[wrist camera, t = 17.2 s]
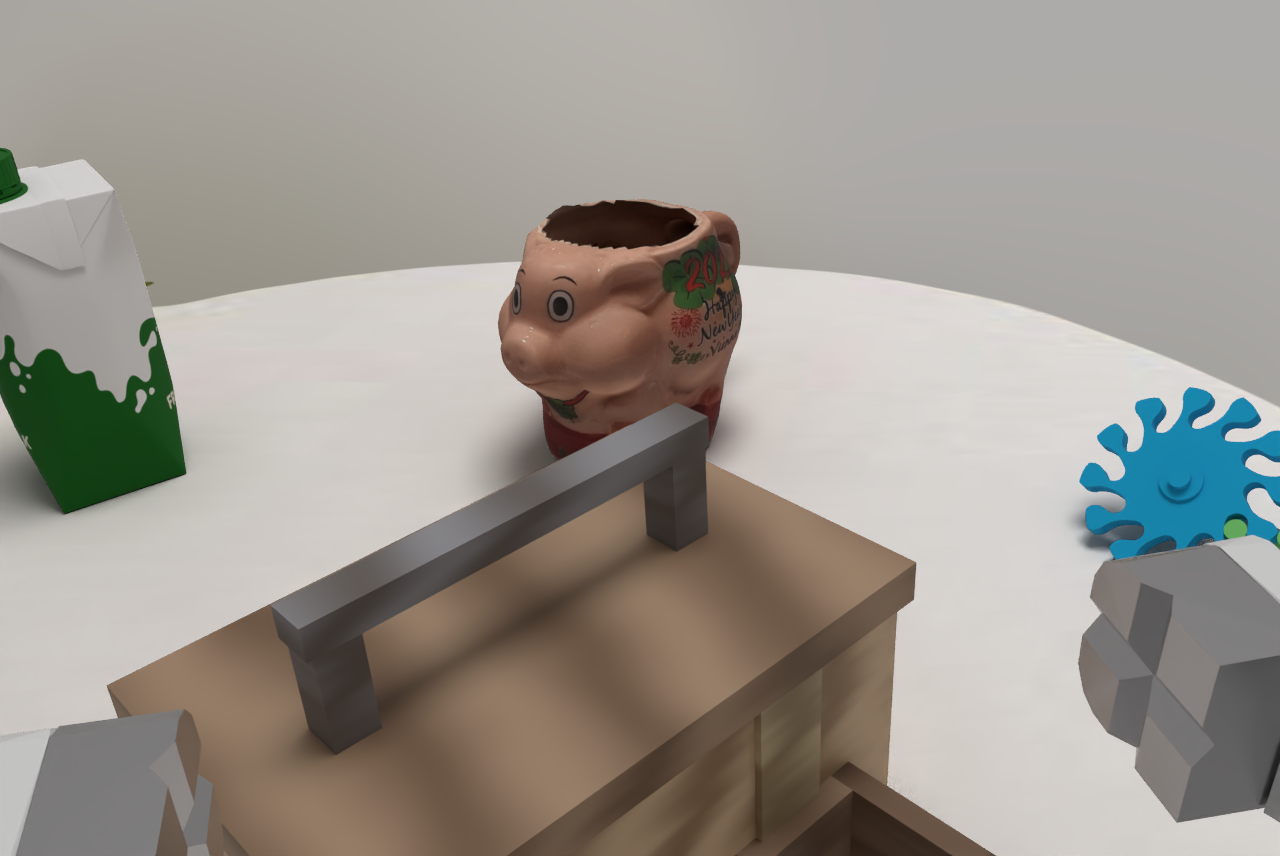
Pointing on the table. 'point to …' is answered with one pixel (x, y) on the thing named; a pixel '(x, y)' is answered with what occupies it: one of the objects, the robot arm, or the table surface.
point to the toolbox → (569, 679)
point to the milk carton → (80, 338)
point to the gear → (1185, 478)
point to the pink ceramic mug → (623, 316)
